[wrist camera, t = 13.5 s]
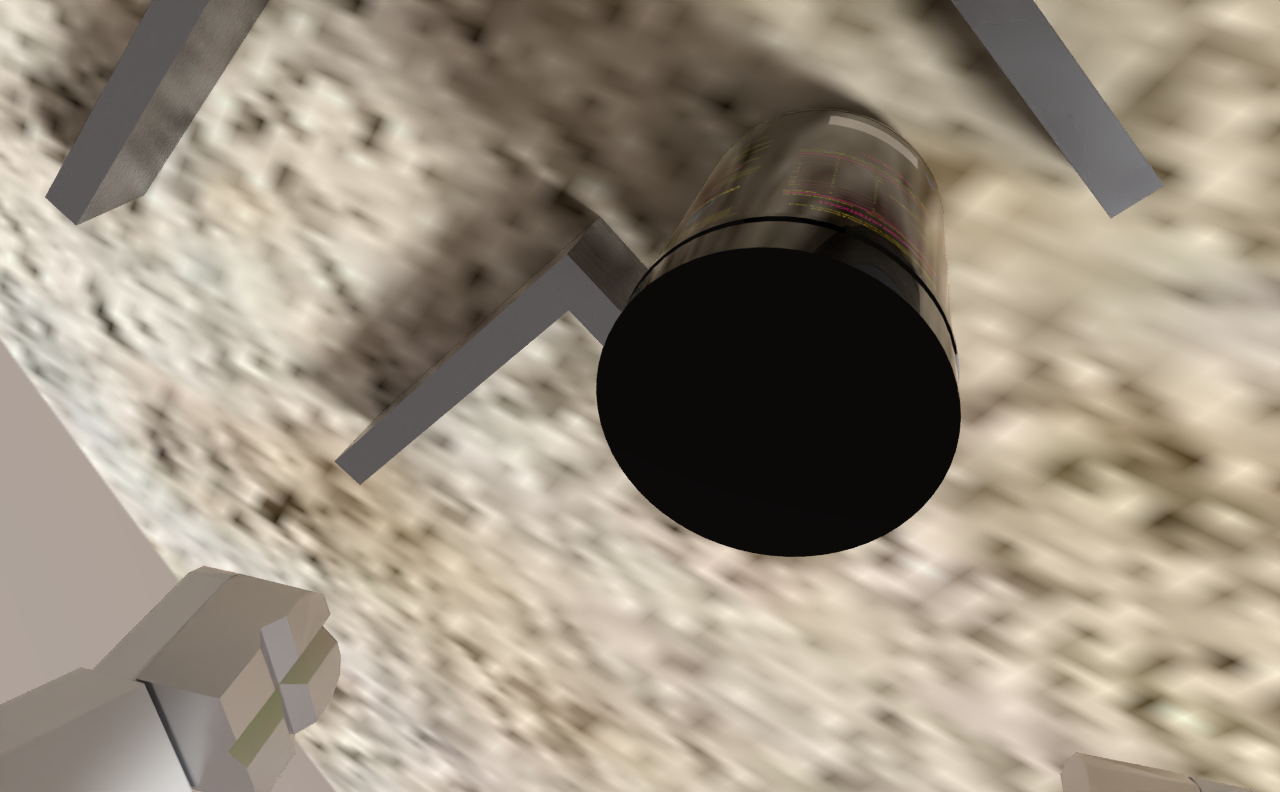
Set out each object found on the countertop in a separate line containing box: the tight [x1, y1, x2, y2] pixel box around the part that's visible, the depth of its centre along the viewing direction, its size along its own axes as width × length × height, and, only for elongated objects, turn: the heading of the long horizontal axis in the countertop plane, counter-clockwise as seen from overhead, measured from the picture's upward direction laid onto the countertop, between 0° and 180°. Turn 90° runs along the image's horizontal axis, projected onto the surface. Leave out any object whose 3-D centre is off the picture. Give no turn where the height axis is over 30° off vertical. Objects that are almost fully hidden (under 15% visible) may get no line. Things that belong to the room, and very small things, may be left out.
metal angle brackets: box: [45, 0, 1164, 485], centre depth 25 cm, size 20×25×3 cm
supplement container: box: [596, 108, 961, 557], centre depth 20 cm, size 7×7×10 cm
